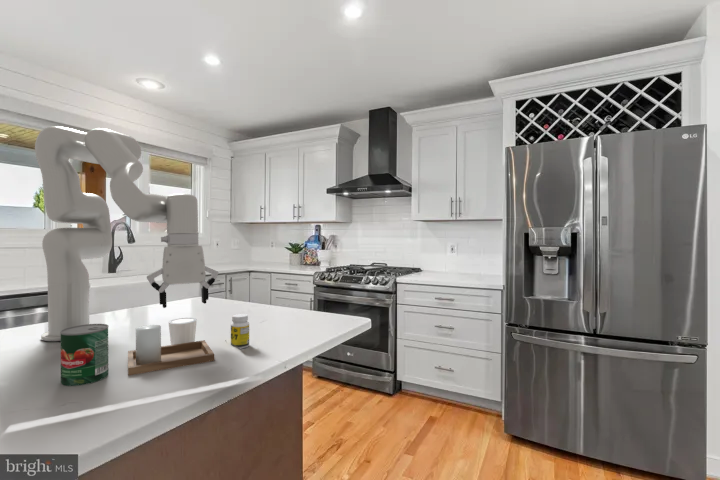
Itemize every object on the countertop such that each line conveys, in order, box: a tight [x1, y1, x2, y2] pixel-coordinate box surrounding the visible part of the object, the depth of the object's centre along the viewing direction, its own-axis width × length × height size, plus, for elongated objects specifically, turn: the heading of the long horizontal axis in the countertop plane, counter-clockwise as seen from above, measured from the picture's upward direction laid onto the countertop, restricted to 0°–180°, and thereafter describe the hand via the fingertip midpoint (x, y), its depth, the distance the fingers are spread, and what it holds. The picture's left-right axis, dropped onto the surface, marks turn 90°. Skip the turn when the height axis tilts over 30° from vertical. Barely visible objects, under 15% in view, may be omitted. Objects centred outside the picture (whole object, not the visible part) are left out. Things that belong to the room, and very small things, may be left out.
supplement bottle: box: [230, 313, 250, 350], centre depth 99 cm, size 5×5×8 cm
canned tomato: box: [59, 323, 109, 387], centre depth 75 cm, size 8×8×11 cm
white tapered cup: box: [168, 317, 198, 345], centre depth 99 cm, size 7×7×7 cm
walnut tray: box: [127, 340, 215, 377], centre depth 87 cm, size 13×17×2 cm
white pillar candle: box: [135, 324, 162, 365], centre depth 85 cm, size 5×5×8 cm
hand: (184, 304), depth 99 cm, fingers open, 9 cm apart
